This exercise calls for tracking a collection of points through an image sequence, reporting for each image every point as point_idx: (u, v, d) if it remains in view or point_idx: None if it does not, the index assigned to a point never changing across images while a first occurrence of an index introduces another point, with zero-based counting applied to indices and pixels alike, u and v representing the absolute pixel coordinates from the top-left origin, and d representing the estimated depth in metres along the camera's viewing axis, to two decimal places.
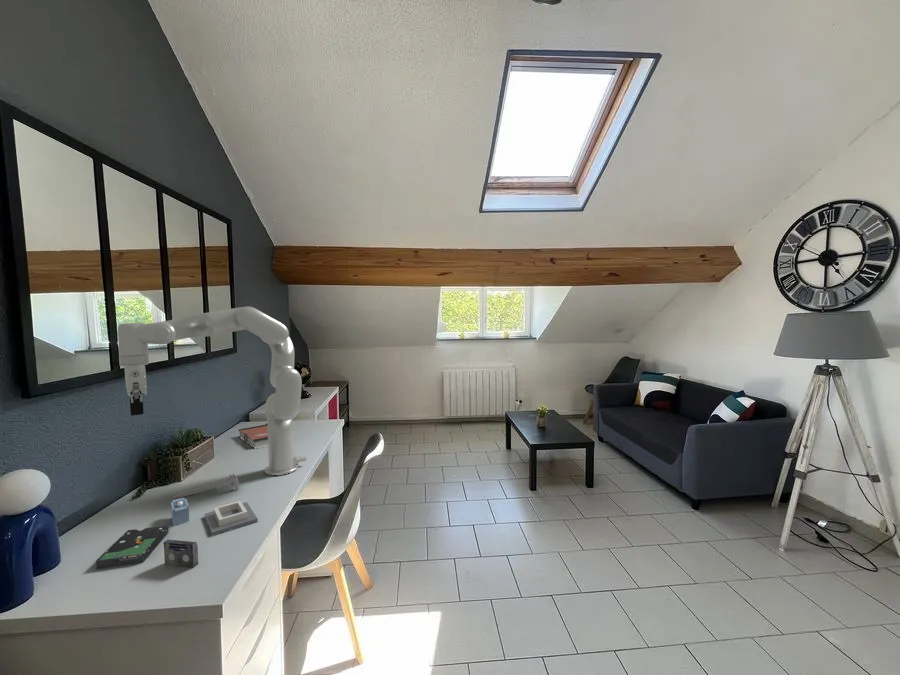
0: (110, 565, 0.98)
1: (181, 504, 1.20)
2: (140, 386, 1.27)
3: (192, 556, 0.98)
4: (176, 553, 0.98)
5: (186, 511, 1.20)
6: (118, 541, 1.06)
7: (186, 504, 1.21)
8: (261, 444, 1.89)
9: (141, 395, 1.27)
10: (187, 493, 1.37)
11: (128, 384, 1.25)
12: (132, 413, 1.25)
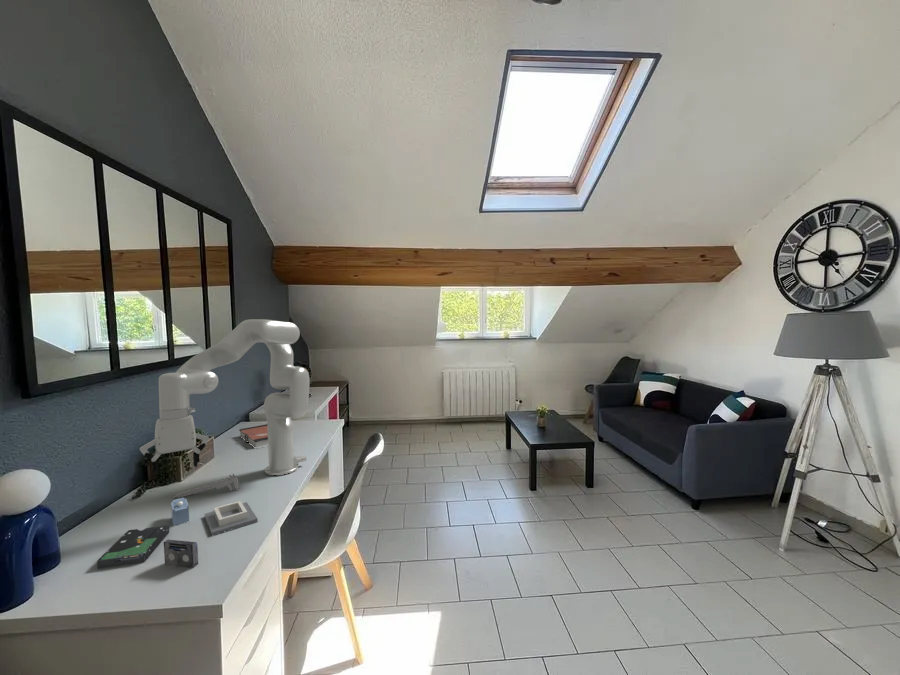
0: (111, 565, 0.98)
1: (181, 504, 1.20)
2: None
3: (192, 556, 0.98)
4: (176, 553, 0.98)
5: (186, 511, 1.20)
6: (119, 541, 1.06)
7: (186, 504, 1.21)
8: (261, 444, 1.89)
9: None
10: (187, 493, 1.37)
11: (195, 435, 1.21)
12: None
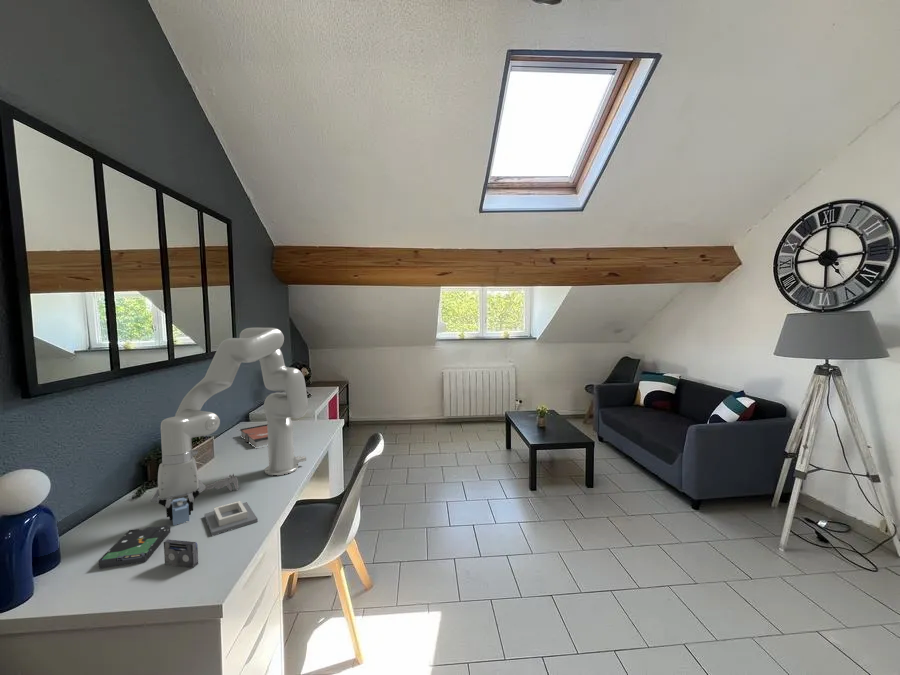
0: (113, 565, 0.98)
1: (181, 504, 1.20)
2: (197, 478, 1.25)
3: (192, 556, 0.98)
4: (176, 553, 0.98)
5: (186, 511, 1.20)
6: (120, 541, 1.06)
7: (186, 504, 1.21)
8: (262, 444, 1.89)
9: None
10: None
11: (197, 478, 1.22)
12: (190, 512, 1.22)
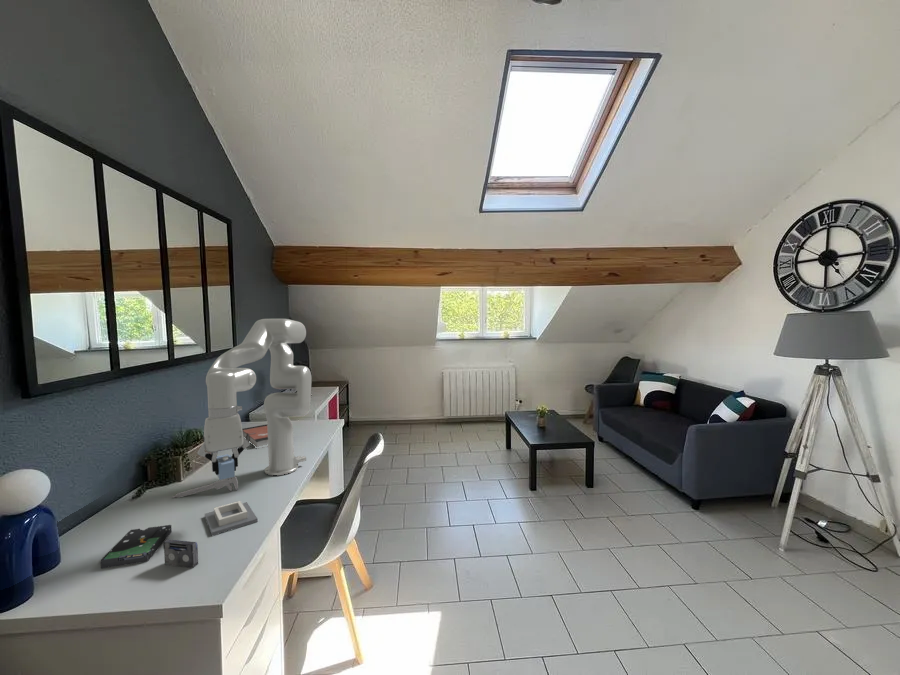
0: (115, 564, 0.98)
1: (227, 459, 1.19)
2: None
3: (192, 556, 0.98)
4: (176, 553, 0.98)
5: (232, 466, 1.19)
6: (122, 540, 1.06)
7: (231, 459, 1.20)
8: (263, 444, 1.89)
9: None
10: (186, 493, 1.37)
11: (242, 433, 1.21)
12: (235, 468, 1.21)
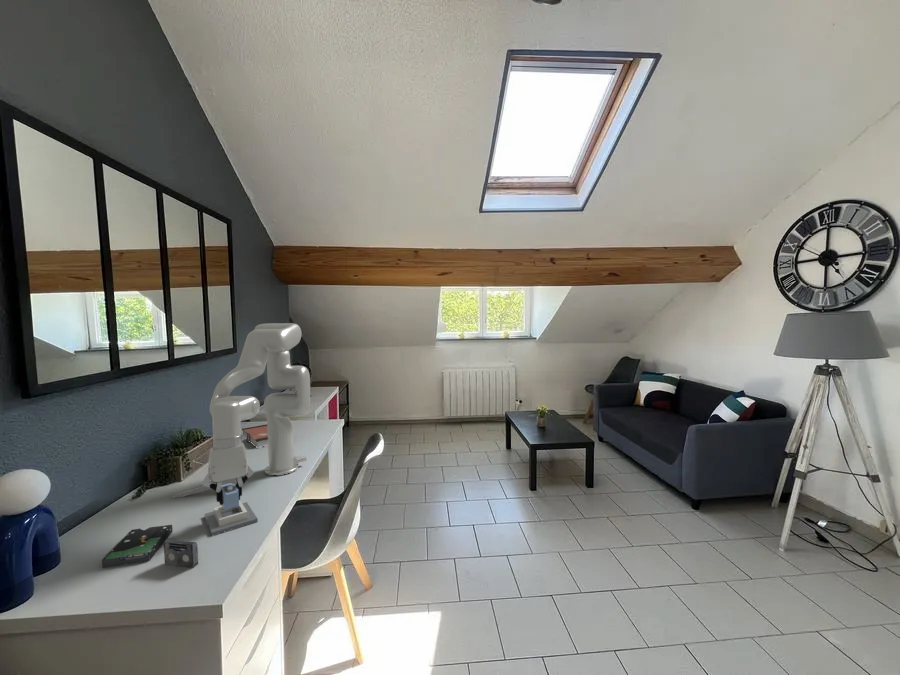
0: (116, 564, 0.99)
1: (231, 488, 1.19)
2: None
3: (192, 556, 0.98)
4: (176, 553, 0.98)
5: (236, 495, 1.19)
6: (123, 540, 1.06)
7: (236, 488, 1.20)
8: (263, 444, 1.89)
9: None
10: (186, 493, 1.37)
11: (246, 462, 1.22)
12: (239, 497, 1.21)
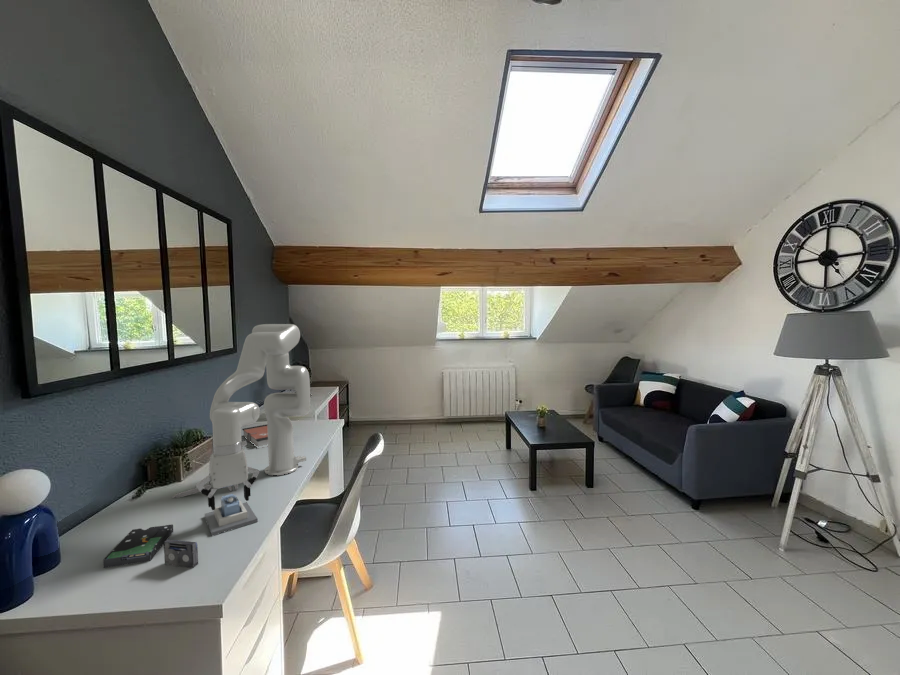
0: (117, 564, 0.99)
1: (232, 500, 1.20)
2: None
3: (192, 556, 0.98)
4: (176, 553, 0.98)
5: (237, 507, 1.19)
6: (124, 540, 1.06)
7: (237, 500, 1.20)
8: (264, 443, 1.90)
9: None
10: (186, 493, 1.37)
11: (247, 468, 1.22)
12: None
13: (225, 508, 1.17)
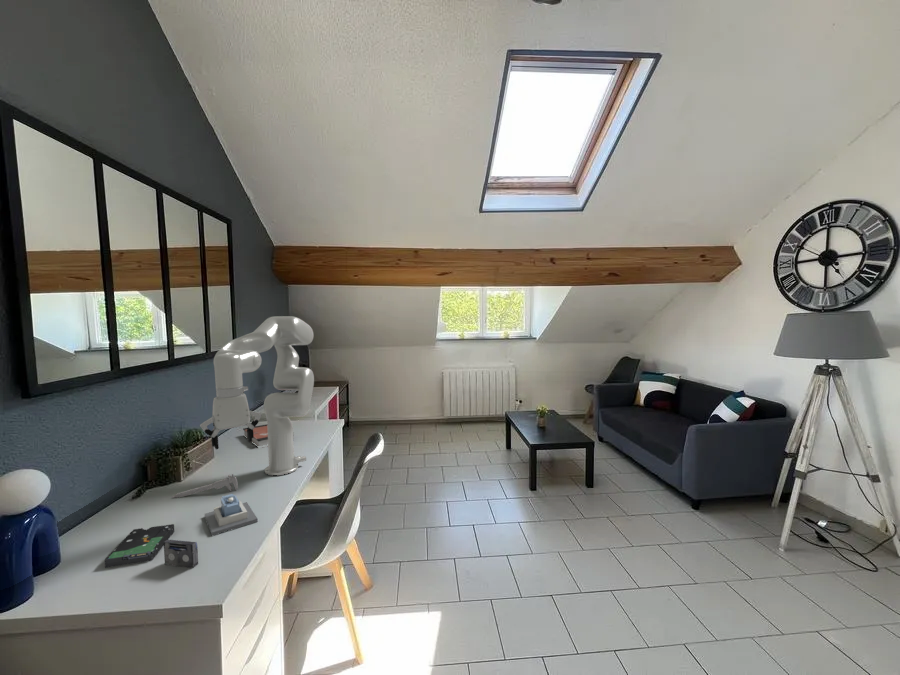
0: (119, 563, 0.99)
1: (232, 500, 1.20)
2: None
3: (192, 556, 0.98)
4: (176, 553, 0.98)
5: (237, 507, 1.19)
6: (125, 540, 1.06)
7: (237, 500, 1.20)
8: (264, 443, 1.90)
9: None
10: (186, 493, 1.37)
11: (249, 412, 1.28)
12: (251, 439, 1.29)
13: (225, 508, 1.17)
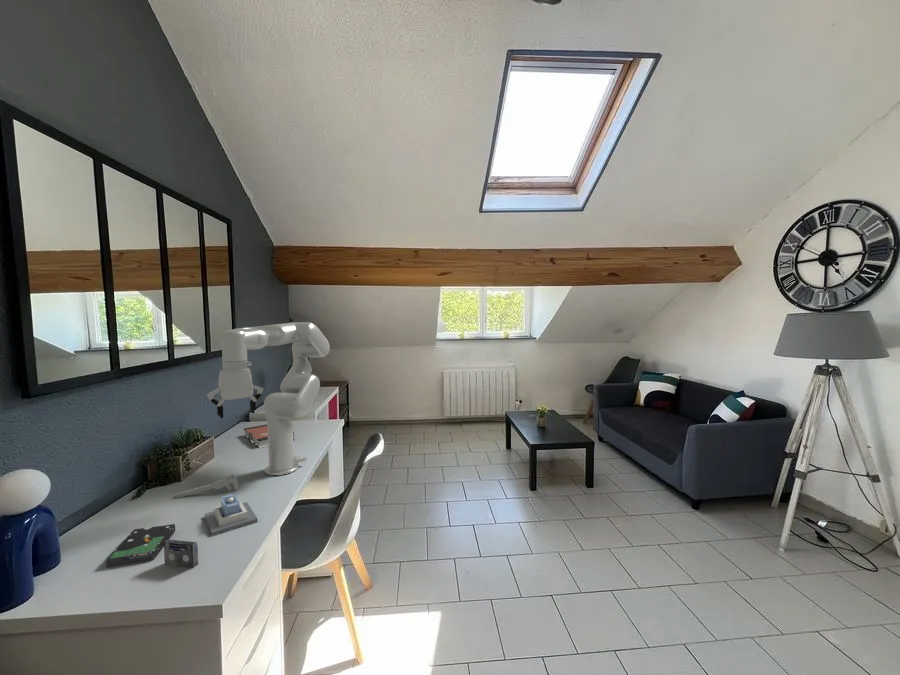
0: (120, 563, 0.99)
1: (232, 500, 1.20)
2: None
3: (192, 556, 0.98)
4: (176, 553, 0.98)
5: (237, 507, 1.19)
6: (126, 540, 1.06)
7: (237, 500, 1.20)
8: (265, 443, 1.90)
9: None
10: (186, 493, 1.37)
11: (252, 385, 1.38)
12: None
13: (225, 508, 1.17)
